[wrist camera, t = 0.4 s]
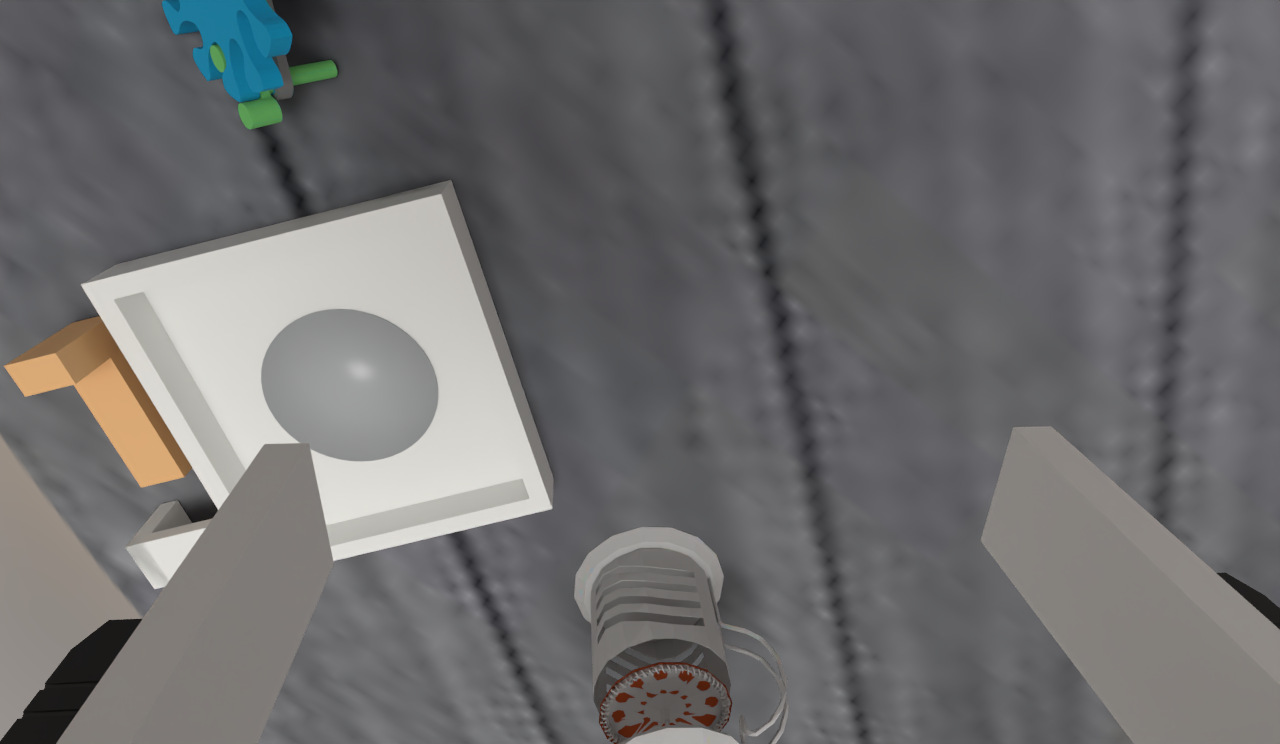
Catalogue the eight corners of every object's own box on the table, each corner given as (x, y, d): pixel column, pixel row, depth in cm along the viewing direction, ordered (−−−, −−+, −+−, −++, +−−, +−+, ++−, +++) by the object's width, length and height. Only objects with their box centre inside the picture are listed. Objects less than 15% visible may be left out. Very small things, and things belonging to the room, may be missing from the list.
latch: (72, 322, 37) (3, 365, 33) (117, 311, 37) (55, 353, 33) (161, 464, 41) (111, 520, 37) (202, 454, 41) (157, 509, 37)
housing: (20, 288, 36) (-37, 317, 33) (451, 179, 36) (438, 198, 32) (199, 562, 45) (168, 608, 41) (553, 478, 44) (552, 517, 40)
